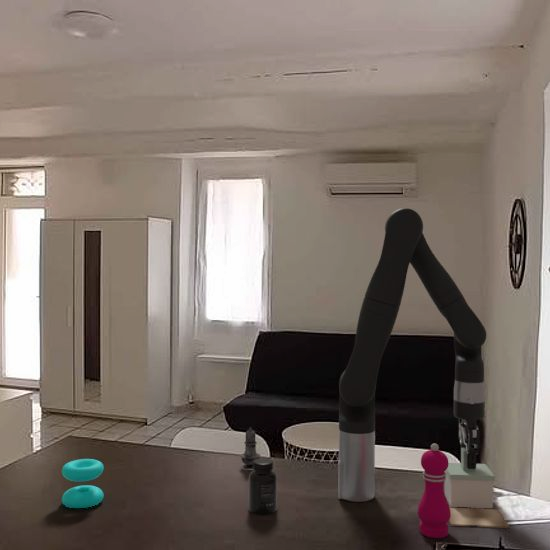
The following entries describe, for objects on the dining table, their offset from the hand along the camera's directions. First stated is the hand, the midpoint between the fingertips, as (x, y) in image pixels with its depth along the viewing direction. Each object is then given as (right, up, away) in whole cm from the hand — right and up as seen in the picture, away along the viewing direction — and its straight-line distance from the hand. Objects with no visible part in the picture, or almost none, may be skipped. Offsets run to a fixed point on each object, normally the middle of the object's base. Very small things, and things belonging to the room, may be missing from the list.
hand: (468, 463), depth 165 cm
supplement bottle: (-52, -10, -6) cm, 53 cm away
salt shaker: (-56, -9, +26) cm, 62 cm away
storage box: (0, -10, 0) cm, 10 cm away
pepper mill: (-13, -10, -19) cm, 25 cm away
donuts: (-97, -9, -3) cm, 97 cm away
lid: (0, -4, 0) cm, 4 cm away
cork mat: (-1, -10, -11) cm, 15 cm away
